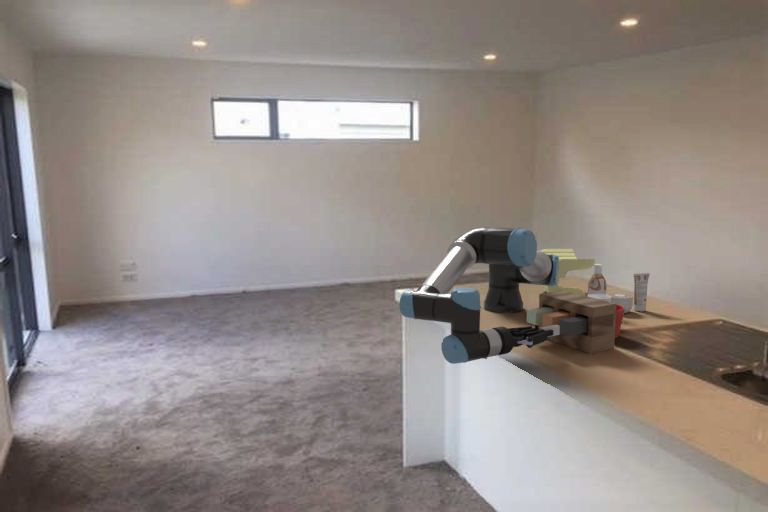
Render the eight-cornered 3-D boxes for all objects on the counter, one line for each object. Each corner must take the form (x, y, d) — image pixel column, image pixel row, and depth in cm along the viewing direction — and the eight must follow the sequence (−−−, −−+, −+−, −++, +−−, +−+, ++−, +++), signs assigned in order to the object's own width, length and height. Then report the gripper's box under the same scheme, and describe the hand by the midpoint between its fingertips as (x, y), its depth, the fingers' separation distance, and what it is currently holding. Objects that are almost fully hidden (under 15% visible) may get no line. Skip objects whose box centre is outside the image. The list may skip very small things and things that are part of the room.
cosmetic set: (639, 307, 230) (642, 260, 227) (655, 313, 221) (658, 263, 218) (581, 311, 225) (583, 262, 222) (594, 317, 216) (597, 266, 213)
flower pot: (580, 333, 196) (582, 304, 194) (606, 329, 200) (607, 301, 198) (604, 341, 186) (605, 311, 184) (630, 337, 190) (632, 308, 189)
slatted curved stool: (536, 287, 269) (537, 248, 266) (571, 287, 269) (572, 248, 266) (553, 302, 240) (554, 259, 237) (592, 302, 239) (594, 259, 236)
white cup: (611, 327, 202) (613, 299, 201) (587, 326, 204) (588, 298, 202) (607, 321, 210) (609, 294, 208) (584, 320, 211) (585, 293, 210)
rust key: (542, 327, 181) (542, 314, 181) (566, 322, 186) (566, 310, 185) (551, 330, 178) (552, 317, 177) (575, 325, 183) (576, 313, 182)
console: (538, 335, 193) (539, 293, 191) (560, 331, 198) (561, 290, 196) (590, 353, 174) (593, 307, 172) (614, 348, 179) (616, 303, 177)
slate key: (559, 332, 175) (559, 319, 175) (583, 327, 180) (583, 315, 179) (569, 335, 172) (570, 322, 171) (593, 331, 177) (594, 318, 176)
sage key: (526, 322, 187) (527, 309, 187) (549, 317, 192) (550, 305, 192) (535, 324, 184) (535, 312, 183) (559, 320, 189) (559, 308, 188)
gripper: (479, 348, 167) (541, 336, 178) (509, 361, 156) (574, 347, 167) (479, 323, 166) (542, 312, 177) (510, 334, 154) (575, 322, 166)
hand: (557, 329), depth 172 cm, fingers closed
